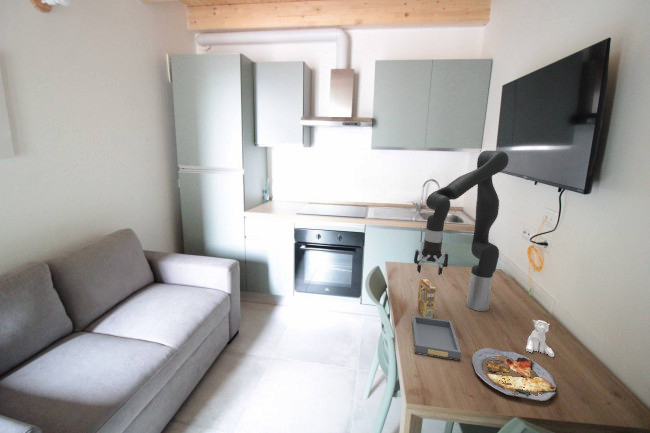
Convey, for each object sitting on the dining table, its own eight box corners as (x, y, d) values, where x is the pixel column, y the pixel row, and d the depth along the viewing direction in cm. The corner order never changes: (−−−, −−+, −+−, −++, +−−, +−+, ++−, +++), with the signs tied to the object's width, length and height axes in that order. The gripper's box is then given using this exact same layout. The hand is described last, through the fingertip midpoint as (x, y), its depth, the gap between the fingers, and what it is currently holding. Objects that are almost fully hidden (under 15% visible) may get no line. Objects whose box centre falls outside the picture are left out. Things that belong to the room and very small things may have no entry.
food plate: (537, 359, 114) (539, 351, 113) (570, 411, 92) (573, 402, 91) (465, 349, 120) (466, 341, 119) (480, 396, 98) (482, 387, 97)
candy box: (433, 318, 140) (436, 287, 136) (424, 319, 139) (427, 287, 135) (424, 308, 148) (427, 279, 145) (415, 308, 148) (419, 279, 144)
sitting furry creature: (526, 353, 118) (532, 325, 115) (518, 339, 126) (524, 313, 123) (554, 358, 116) (561, 330, 113) (545, 344, 124) (551, 317, 121)
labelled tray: (450, 328, 132) (451, 321, 132) (460, 361, 112) (461, 353, 111) (412, 322, 136) (412, 315, 135) (414, 353, 116) (415, 345, 115)
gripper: (449, 238, 137) (444, 272, 141) (416, 235, 140) (412, 268, 144) (451, 243, 130) (446, 278, 134) (417, 240, 133) (413, 274, 137)
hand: (429, 273), depth 139 cm, fingers open, 8 cm apart
